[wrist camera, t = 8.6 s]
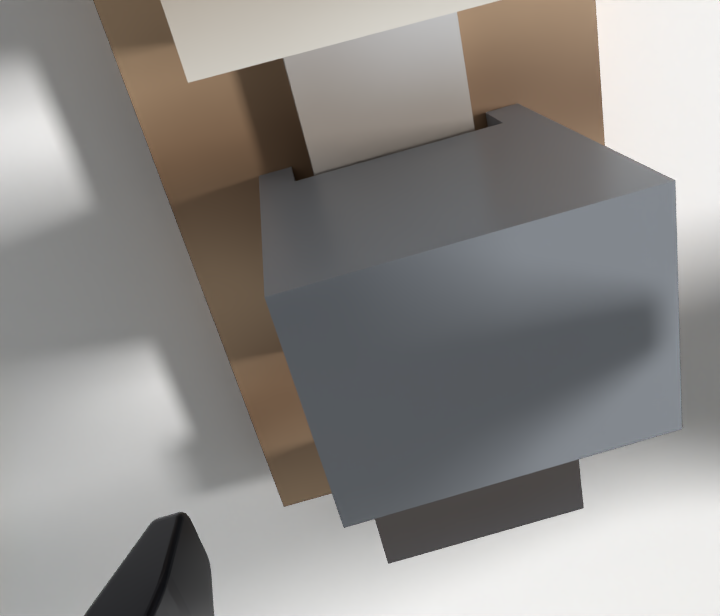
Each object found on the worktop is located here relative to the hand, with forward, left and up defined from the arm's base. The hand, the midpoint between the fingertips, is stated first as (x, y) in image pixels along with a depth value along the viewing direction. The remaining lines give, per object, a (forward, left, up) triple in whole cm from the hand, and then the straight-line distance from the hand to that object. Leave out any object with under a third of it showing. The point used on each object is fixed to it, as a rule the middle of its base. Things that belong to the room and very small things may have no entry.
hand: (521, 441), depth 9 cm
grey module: (0, 0, -8) cm, 8 cm away
